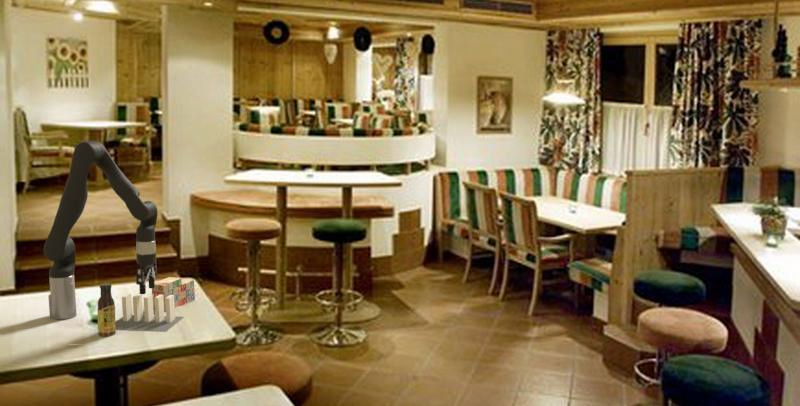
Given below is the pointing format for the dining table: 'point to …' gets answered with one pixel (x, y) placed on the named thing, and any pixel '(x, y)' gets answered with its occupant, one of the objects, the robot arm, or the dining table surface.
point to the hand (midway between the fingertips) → (147, 291)
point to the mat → (145, 324)
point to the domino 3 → (148, 307)
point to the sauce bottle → (106, 312)
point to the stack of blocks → (174, 290)
